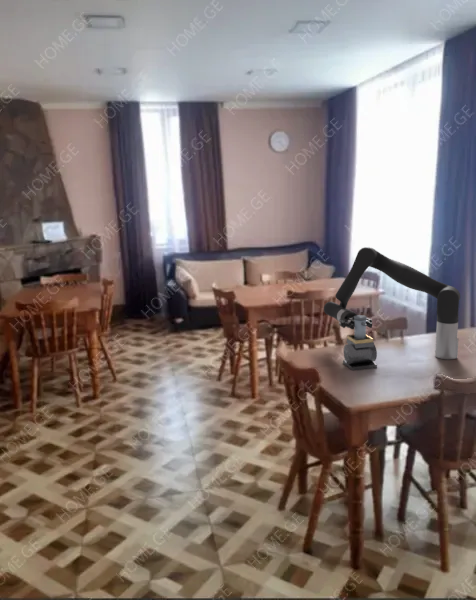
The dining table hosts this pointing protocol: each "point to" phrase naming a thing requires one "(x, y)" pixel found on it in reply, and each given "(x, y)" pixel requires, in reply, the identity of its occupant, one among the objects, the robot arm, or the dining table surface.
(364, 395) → the dining table surface
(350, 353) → the motor
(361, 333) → the pump
